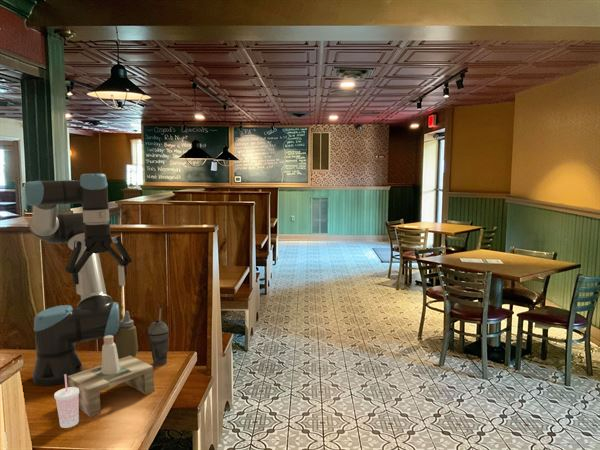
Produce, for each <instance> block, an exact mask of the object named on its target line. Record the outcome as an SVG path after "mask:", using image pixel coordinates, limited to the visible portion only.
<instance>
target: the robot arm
mask: <svg viewBox="0 0 600 450" xmlns="http://www.w3.org/2000/svg"><path fill="white" fill-rule="evenodd" d="M108 186H109V185H108V181H107V176H106V174H105V173H83V174H81V175H80V177H79V179H73V180H72V179H71V180H34V181H26V182H25V183H24V196H25V204H26V205H27V206H32V216H31V217H30V220H29V223H28V224H29V230H30V232H31V234H32V235H33V236H34V237H36V238H37V239H39V240H40V241H43V242H45V243H48V244H55V245H59V244H67V247H68V248H69V249H70V250H72V251H71V255H70V256H69V259H68V261H67V265H66V267H65V269H64V273H68V274H71V278H72V283H73V285H75V288H76V289H75V290H76V294H77V295H79V296H80V301H78V303H77V308H73V307H72V305H71V304H70V305H69V304H64V305H62V304H60V305H55V306H53V307H49V308H47V309H44V310H42V311H40V312H38V313H36V315H35V316H34V318H33V331H34V336H35V337H34V339H35V351H36V360H35V363H34V368H33V372H32V382H33V384H35V385H38V386H42V387H43V386H44V387H45V386H56V385H61V384H65V376H64V374H66V377H67V383H68V376H70V375H73V374H76V373H79V372H82V371H84V368H83V363H82V362H81V359H80V357H79V354H78V352H77V351H76V344H79V343H83V342H89V341H95V340H98V339H104V337H105V336H107V335H112V336H113V337H114V336H115V335H117V332H118V329H119V326H120V306H119V302H117V301H113V298H112V296H110V295H108V293H107V289H106V284H105V280H104V274H103V269H102V264H101V258H100V253H106V252H107V253H108V254H109V255H110V256H111V257H112V258H113V259H114V260H115V261H116V262H117V263H118V264H119V265H117V271H118V272H117V274H118V285H119V286H121V287H125V286H126V277H125V276H127V274H128V272H127V271H128V270H127V266H129V264H131V263H132V262H133V261H132V258H131V256H130V254H129V253H128V252H127V250H126V248H125V247H124V245H123V242H122V238H121V236H119V235H114V236H113V237H111V225H110V223H109V222H110V220H111V219H110V209H109V194H108V193H109V191H108ZM68 204H69V205H72V204H75V205H76V204H81V206H82V212H72V213H70V212H69V213H58V209H59V205H68ZM112 243H113V244H114V245H115V246H116V248H117V250H118V252H119V253H120V254H118V253H117V252H116V251H115V250H114V247H112V246H111V244H112ZM120 255H121V256H120Z"/></svg>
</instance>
